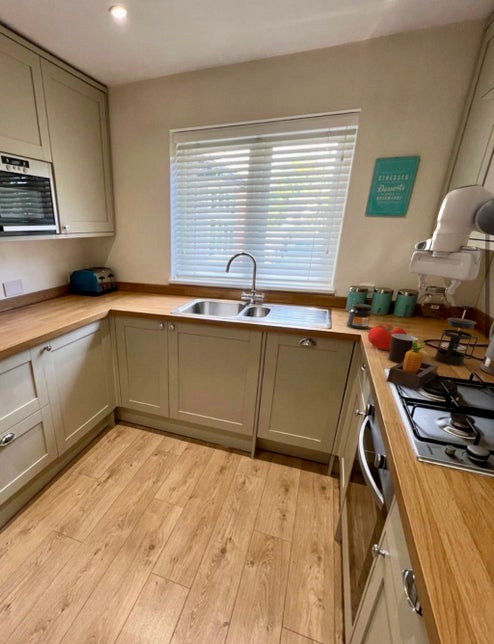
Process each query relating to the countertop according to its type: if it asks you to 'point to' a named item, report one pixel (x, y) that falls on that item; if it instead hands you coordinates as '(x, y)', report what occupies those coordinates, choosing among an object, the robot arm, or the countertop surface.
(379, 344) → the tomato
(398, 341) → the coffee mug
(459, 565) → the countertop surface
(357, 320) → the supplement container
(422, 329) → the countertop surface
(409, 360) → the carrot
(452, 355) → the french press
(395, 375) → the brown rectangular box
